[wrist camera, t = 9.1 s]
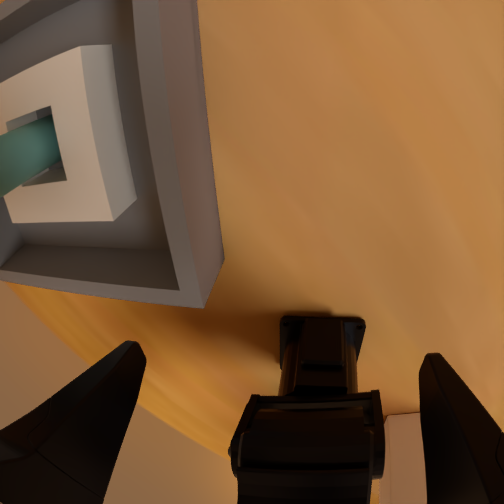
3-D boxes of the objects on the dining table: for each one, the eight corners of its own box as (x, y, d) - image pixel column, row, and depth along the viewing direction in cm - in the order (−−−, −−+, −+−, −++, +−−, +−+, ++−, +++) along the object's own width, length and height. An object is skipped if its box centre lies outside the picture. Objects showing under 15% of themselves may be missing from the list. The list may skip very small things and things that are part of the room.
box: (224, 259, 22) (203, 308, 18) (28, 249, 26) (-3, 279, 22) (193, -48, 11) (154, -75, 7) (-19, 49, 15) (-64, 61, 11)
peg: (84, 152, 18) (-17, 218, 11) (52, 158, 19) (-42, 220, 11) (76, 106, 17) (-37, 155, 9) (43, 116, 17) (-60, 165, 10)
